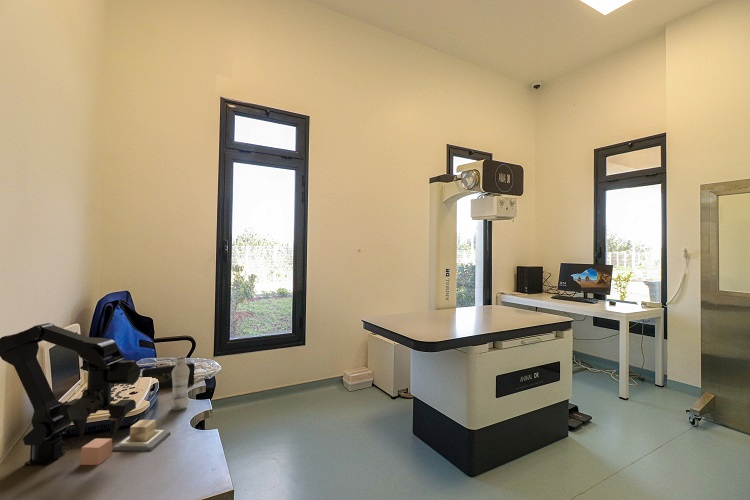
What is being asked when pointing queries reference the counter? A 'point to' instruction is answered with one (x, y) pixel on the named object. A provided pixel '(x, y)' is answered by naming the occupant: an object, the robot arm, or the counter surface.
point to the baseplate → (142, 446)
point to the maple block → (142, 431)
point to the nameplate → (167, 375)
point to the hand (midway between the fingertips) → (97, 436)
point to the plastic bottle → (180, 385)
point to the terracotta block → (96, 451)
